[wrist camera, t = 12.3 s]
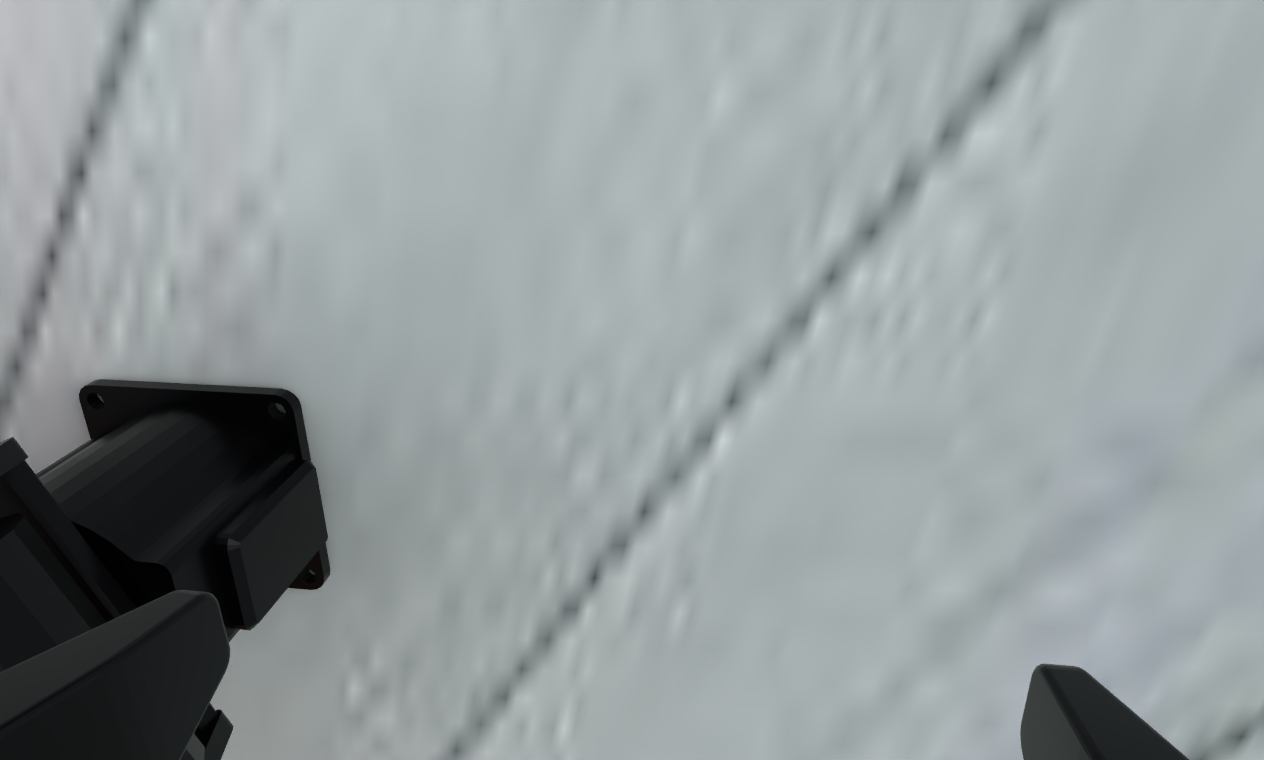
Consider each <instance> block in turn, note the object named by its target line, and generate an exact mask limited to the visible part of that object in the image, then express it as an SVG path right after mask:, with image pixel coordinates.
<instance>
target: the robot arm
mask: <svg viewBox="0 0 1264 760" xmlns="http://www.w3.org/2000/svg"><path fill="white" fill-rule="evenodd" d="M97 394H98V395H99V396H101V397H102V399H103V401H104V402H102V401H101V400H100V399H99V397H98V395H97ZM79 399H80V403H81V407H82V410H83V414H84V417H85V420H86V424H87V427H88V431H89V434H90V438H91V440H90V441H88V442H86V443H85V444H83V445H82V446H80V447H79V448H77V449H75V450H74V451H72V452H71V453H69V454H68V455H66V456H64V457H63V458H61V459H60V460H58V461H56V462H55V463H53V464H52V465H50V466H49V467H47V468H45V469H44V470H42V471H41V472H39V473H38V474H35V473H34V472H33V471H32V469H31V468H30V467H29V465H28V464H27V463H26V461H25V459H26V458H28V456H27V454H26V453H25V452H24V450H23V449H22V448H21V447H20V445H19V444H18V443H17V441H16V440H15V439H14V437H12V438H9V439H7V440H5V441H3V442H0V760H221V757H222V755H223V752H224V750H225V747H226V745H227V742H228V740H229V738H230V735H231V733H232V730H233V725H232V724H231V723H230V721H229V720H228V719H227V717H226V716H225V715H224V713H223V712H222V711H221V710H215V709H214V708H213V706H212V705H211V704H210V701H211V699H212V697H213V695H214V693H215V691H216V689H217V687H218V685H219V683H220V681H221V679H222V678H223V676H224V674H225V671H226V669H227V666H228V663H229V658H230V646H229V642H230V640H231V639H232V638H233V637H234V636H235V634H236V633H237V632H238V631H239V630H240V629H242V630H251V629H252V628H254V627H255V626H256V625H257V624H258V623H259V622H260V621H261V620H262V618H263V617H264V616H265V615H266V614H267V612H268V611H269V610H270V609H271V607H272V606H273V605H274V604H275V603H276V601H277V600H278V599H279V598H280V596H281V595H282V594H283V593H284V592H285V590H286V589H287V588H297V589H309V590H313V589H318V588H320V587H321V586H322V585H323V584H324V582H325V581H326V580H327V578H328V577H329V575H330V566H329V560H328V555H327V549H326V543H325V542H326V541H327V538H328V535H327V530H326V524H325V518H324V513H323V507H322V501H321V495H320V490H319V484H318V478H317V473H316V468H315V467H314V465H313V464H312V462H311V459H310V453H309V448H308V442H307V437H306V431H305V425H304V420H303V414H302V408H301V405H300V402H299V399H298V398H297V397H296V396H295V395H294V394H293V393H291V392H290V391H288V390H284V389H276V388H257V387H237V386H218V385H198V384H179V383H160V382H140V381H121V380H102V379H101V380H95V381H93V382H91V383H90V384H88V385H86V386H84V387H83V388H82V389H81V391H80V393H79ZM276 403H278V404H281V405H282V406H283V407H284V409H285V411H286V413H283V412H281V411H279V410H278V409H277V407H276ZM308 569H309V570H312V571H313V572H314V573H315V575H314V574H311V573H310V572H309V571H308ZM1020 733H1021V748H1022V753H1023V758H1024V760H1189V759H1188V758H1187V757H1186V756H1185V755H1183V754H1182V753H1181V752H1180V751H1179V750H1178V749H1176V748H1175V747H1174V746H1173V745H1172V744H1171V743H1169V742H1168V741H1167V740H1166V739H1165V738H1164V737H1162V736H1161V735H1160V734H1159V733H1158V732H1157V731H1155V730H1154V729H1153V728H1152V727H1151V726H1150V725H1148V724H1147V723H1146V722H1145V721H1144V720H1143V719H1141V718H1140V717H1139V716H1138V715H1137V714H1135V713H1134V712H1133V711H1132V710H1131V709H1130V708H1128V707H1127V706H1126V705H1125V704H1124V703H1123V702H1121V701H1120V700H1119V699H1118V698H1117V697H1116V696H1114V695H1113V694H1112V693H1111V692H1110V691H1109V690H1107V689H1106V688H1105V687H1104V686H1103V685H1102V684H1100V683H1099V682H1098V681H1097V680H1096V679H1095V678H1093V677H1092V676H1091V675H1090V674H1089V673H1087V672H1086V671H1085V670H1083V669H1081V668H1079V667H1075V666H1066V665H1054V664H1041V665H1039V666H1037V667H1036V668H1035V670H1034V671H1033V674H1032V677H1031V682H1030V686H1029V691H1028V695H1027V700H1026V704H1025V709H1024V713H1023V718H1022V723H1021V732H1020Z"/></svg>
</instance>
